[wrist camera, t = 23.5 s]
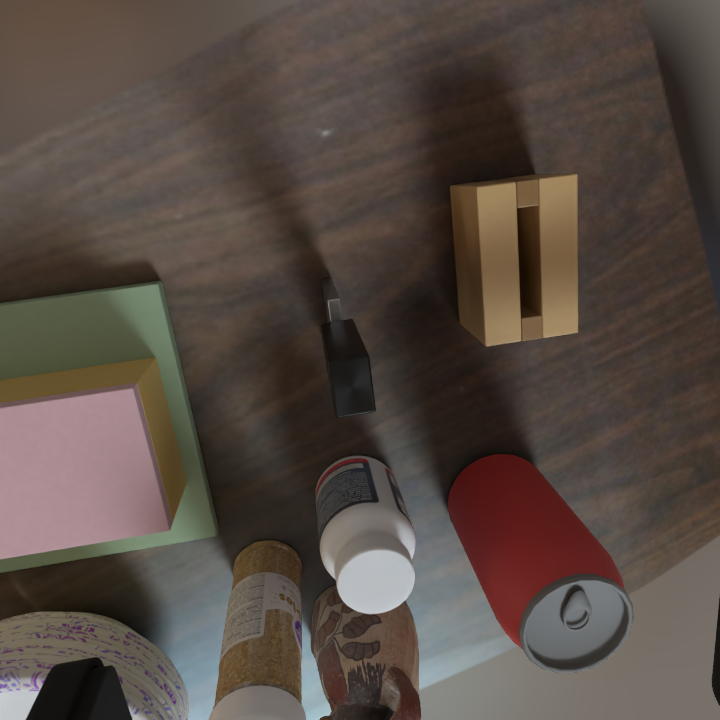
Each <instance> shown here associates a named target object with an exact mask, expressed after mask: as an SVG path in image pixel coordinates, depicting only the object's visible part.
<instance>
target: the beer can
mask: <svg viewBox="0 0 720 720" xmlns="http://www.w3.org/2000/svg"><path fill="white" fill-rule="evenodd" d="M448 510H449V515H450V519H451V521H452V524H453V526H454V528H455V530H456V532H457V534H458V537H459V539H460V541H461V543H462V545H463V547H464V550H465V552H466V554H467V556H468V558H469V560H470V563H471V565H472V567H473V569H474V571H475V573H476V575H477V578H478V580H479V582H480V584H481V586H482V588H483V591H484V593H485V595H486V597H487V599H488V601H489V604H490V606H491V608H492V610H493V612H494V614H495V617H496V619H497V620H498V622H499V623H500V625H501V626H502V628H503V629H504V631H505V632H506V634H507V635H508V636H509V637H510V639H511V640H512V641H513V642H514V643H515V644H517V645H518V646H519V647H521V648H522V649H523V650H524V652H525V654H526V655H527V657H528V658H529V660H530V661H532V662H533V663H534V664H536V665H537V666H539V667H541V668H542V669H545V670H549V671H552V672H556V673H571V672H572V673H573V672H579V671H583V670H586V669H590V668H593V667H595V666H596V665H598V664H600V663H602V662H604V661H605V660H607V659H608V658H609V657H611V656H612V655H613V654H614V653H615V652H616V651H617V650H618V649H619V648H620V647H621V645H622V644H623V642H624V641H625V639H626V638H627V636H628V635H629V633H630V629H631V625H632V622H633V618H634V617H633V606H632V602H631V600H630V599H629V597H628V595H627V593H626V591H625V589H624V584H623V580H622V578H621V576H620V574H619V571H618V569H617V567H616V566H615V564H614V562H613V560H612V558H611V556H610V555H609V554H608V552H607V551H606V550H605V549H604V548H603V547H602V545H601V544H600V543H599V542H598V541H597V539H596V538H595V537H594V536H593V535H592V533H591V532H590V531H589V530H588V529H587V527H586V526H585V525H584V524H583V523H582V522H581V520H580V519H579V518H578V517H577V516H576V514H575V513H574V512H573V511H572V510H571V508H570V507H569V506H568V505H567V504H566V502H565V501H564V500H563V499H562V498H561V497H560V495H559V494H558V493H557V492H556V491H555V489H554V488H553V487H552V486H551V485H550V483H549V482H548V481H547V480H546V479H545V478H544V476H543V475H542V474H541V473H540V472H539V470H538V469H537V468H536V467H534V466H533V465H532V464H531V463H530V462H528V461H527V460H526V459H523V458H520V457H517V456H514V455H508V454H495V455H491V456H487V457H483V458H480V459H479V460H477V461H475V462H473V463H472V464H470V465H468V466H467V467H466V468H465V469H464V470H463V471H462V472H461V473H460V474H459V475H458V476H457V478H456V480H455V482H454V484H453V486H452V488H451V489H450V493H449V499H448Z"/></svg>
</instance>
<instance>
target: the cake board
mask: <svg viewBox="0 0 720 720" xmlns="http://www.w3.org/2000/svg"><path fill="white" fill-rule="evenodd" d="M153 357H156V359H157V363H158V367H159V371H160V376H161V380H162V384H163V388H164V392H165V396H166V400H167V404H168V408H169V412H170V416H171V420H172V424H173V429H174V433H175V437H176V441H177V445H178V449H179V453H180V457H181V461H182V465H183V469H184V473H185V478H186V482H187V483H186V486H185V489H184V492H183V495H182V498H181V501H180V504H179V507H178V509H177V512H176V515H175V518H174V521H173V524H172V527H171V529H170V531H166V532H160V533H154V534H148V535H142V536H136V537H130V538H124V539H118V540H113V541H107V542H101V543H95V544H89V545H83V546H77V547H71V548H65V549H59V550H53V551H47V552H41V553H35V554H29V555H23V556H18V557H12V558H6V559H0V573H3V572H9V571H15V570H21V569H27V568H33V567H39V566H44V565H50V564H56V563H62V562H68V561H74V560H80V559H86V558H91V557H97V556H103V555H109V554H115V553H121V552H127V551H133V550H139V549H144V548H150V547H156V546H162V545H168V544H174V543H180V542H186V541H191V540H197V539H203V538H209V537H215V536H217V533H218V528H219V526H218V522H217V518H216V513H215V509H214V505H213V501H212V496H211V492H210V488H209V483H208V479H207V475H206V470H205V466H204V462H203V457H202V453H201V449H200V444H199V440H198V436H197V431H196V427H195V423H194V419H193V414H192V410H191V406H190V401H189V397H188V393H187V388H186V384H185V380H184V375H183V371H182V367H181V362H180V358H179V354H178V350H177V345H176V341H175V337H174V332H173V328H172V324H171V319H170V315H169V311H168V306H167V302H166V298H165V293H164V289H163V285H162V281H155V282H148V283H141V284H133V285H126V286H119V287H112V288H105V289H97V290H90V291H83V292H76V293H69V294H62V295H54V296H47V297H40V298H33V299H26V300H18V301H11V302H4V303H0V380H4V379H11V378H18V377H25V376H32V375H38V374H45V373H52V372H59V371H65V370H72V369H79V368H86V367H92V366H99V365H106V364H113V363H119V362H126V361H133V360H140V359H146V358H153Z"/></svg>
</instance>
